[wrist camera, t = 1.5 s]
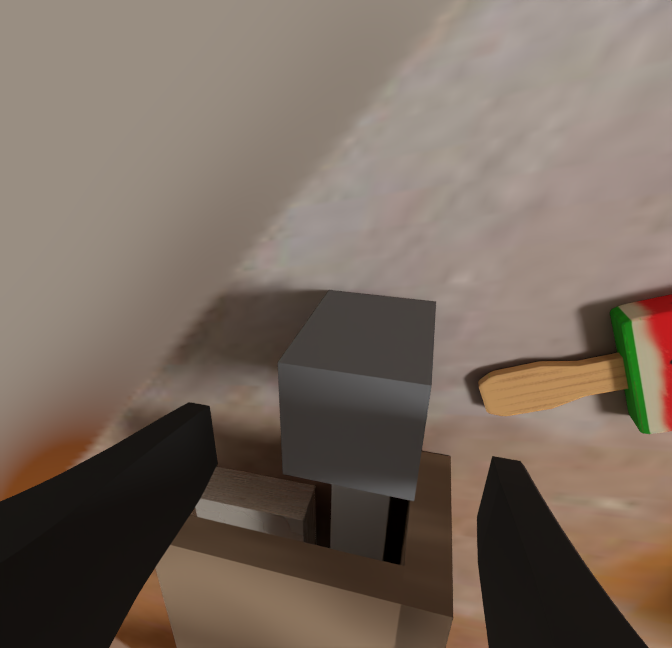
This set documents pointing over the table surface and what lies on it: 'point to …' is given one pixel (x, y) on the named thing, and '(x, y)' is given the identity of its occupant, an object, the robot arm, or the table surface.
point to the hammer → (358, 408)
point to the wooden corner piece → (314, 583)
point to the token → (260, 504)
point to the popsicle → (600, 371)
